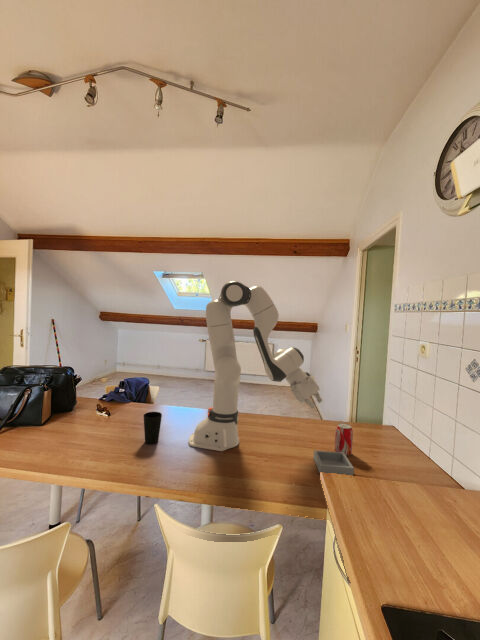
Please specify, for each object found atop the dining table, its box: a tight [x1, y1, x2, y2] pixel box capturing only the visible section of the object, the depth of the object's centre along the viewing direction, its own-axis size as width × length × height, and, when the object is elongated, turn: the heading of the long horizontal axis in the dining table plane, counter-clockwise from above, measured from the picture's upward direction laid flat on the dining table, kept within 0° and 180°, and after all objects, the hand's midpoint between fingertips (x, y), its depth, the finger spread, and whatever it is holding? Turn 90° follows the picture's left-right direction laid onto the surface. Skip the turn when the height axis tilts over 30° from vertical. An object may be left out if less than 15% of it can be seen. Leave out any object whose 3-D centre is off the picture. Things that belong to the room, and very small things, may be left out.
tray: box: [313, 449, 355, 476], centre depth 113 cm, size 12×12×4 cm
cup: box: [143, 411, 163, 446], centre depth 128 cm, size 8×8×12 cm
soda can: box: [334, 422, 354, 457], centre depth 126 cm, size 7×7×12 cm
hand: (317, 404), depth 132 cm, fingers open, 8 cm apart
